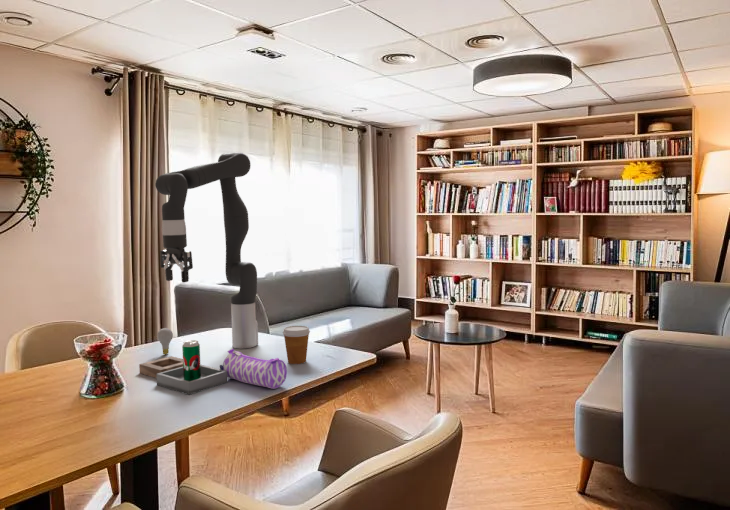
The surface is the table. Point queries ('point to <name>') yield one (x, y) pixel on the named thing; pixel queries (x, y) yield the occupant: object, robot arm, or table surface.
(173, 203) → the robot arm
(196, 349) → the soda can
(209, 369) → the tray
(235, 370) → the pencil case
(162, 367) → the square wooden frame
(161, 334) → the light bulb
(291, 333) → the disposable coffee cup
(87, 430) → the table surface
